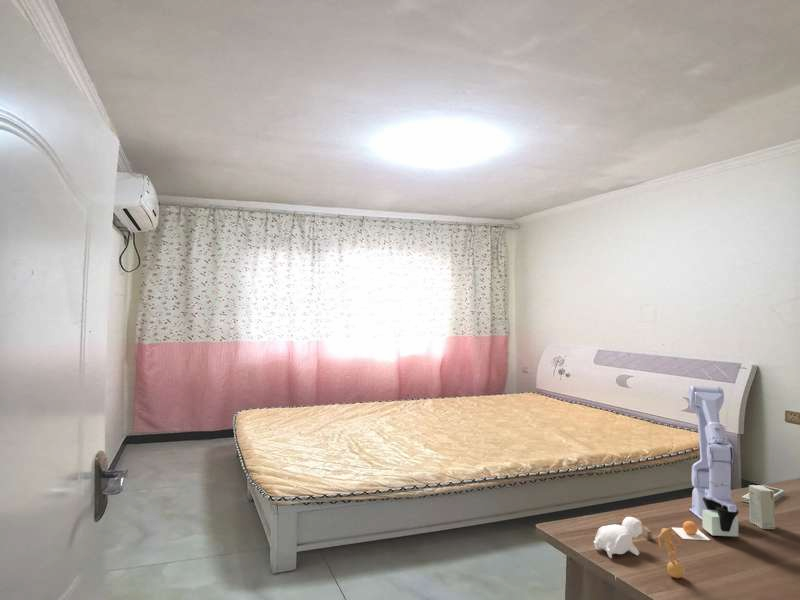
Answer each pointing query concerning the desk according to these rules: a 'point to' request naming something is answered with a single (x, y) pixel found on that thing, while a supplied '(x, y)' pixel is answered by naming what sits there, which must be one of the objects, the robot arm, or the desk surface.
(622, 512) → the desk surface
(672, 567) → the figurine
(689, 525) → the ball
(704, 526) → the pale green block
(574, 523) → the desk surface
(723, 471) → the robot arm
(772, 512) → the skincare box
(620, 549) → the white crawling baby figure
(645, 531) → the stopper
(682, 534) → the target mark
